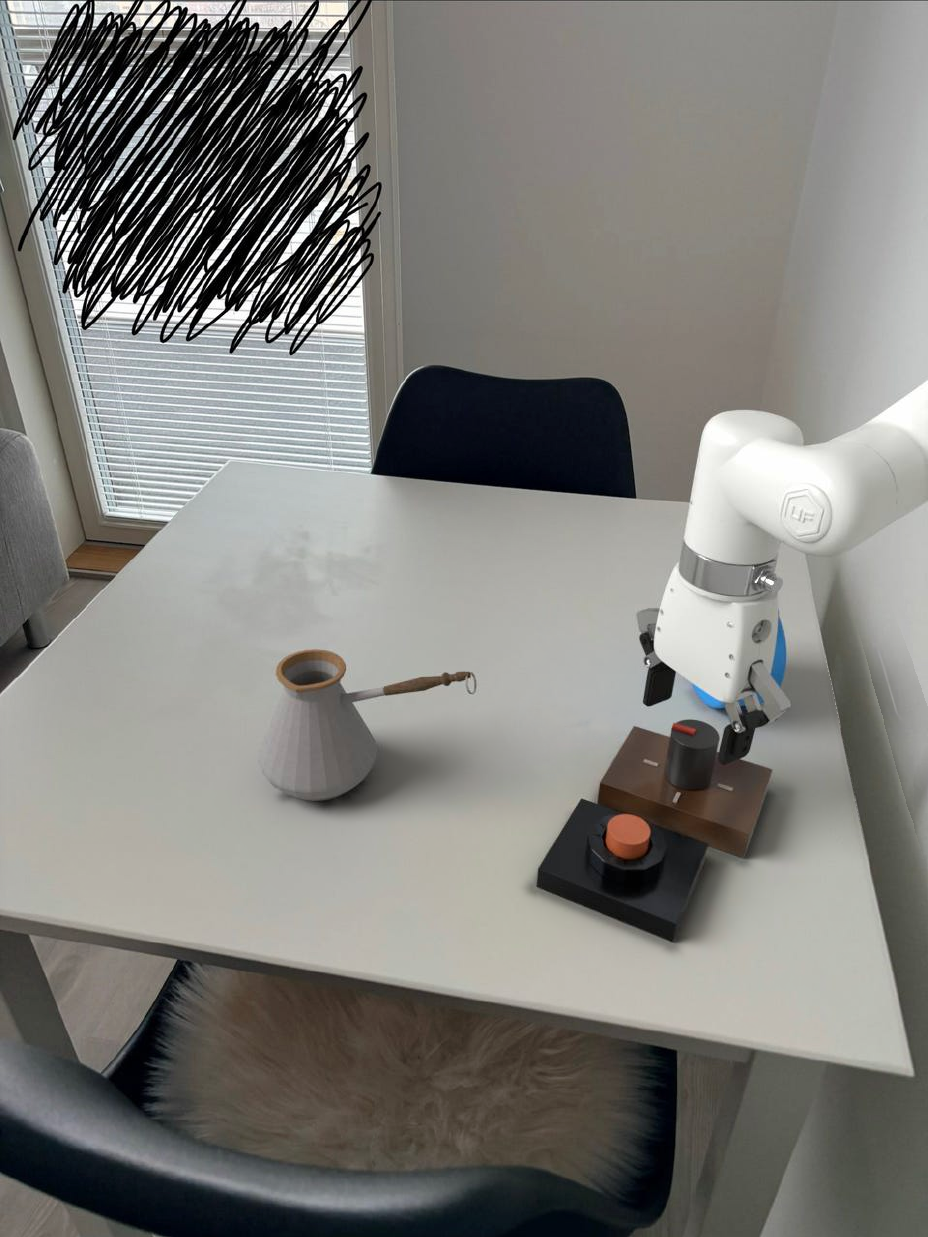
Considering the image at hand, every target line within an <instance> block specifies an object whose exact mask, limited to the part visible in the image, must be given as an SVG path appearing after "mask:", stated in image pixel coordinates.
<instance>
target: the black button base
mask: <svg viewBox="0 0 928 1237" xmlns="http://www.w3.org/2000/svg"><path fill="white" fill-rule="evenodd" d="M621 814H624V813H621V812H619V811H616V810H613V809H610V808H607V807H605V806H602V805H599V804H597V802H596V803H595V802H593V801H590V800H587V799H584V798H583V797H582V798H580V800H579V802H578V803H577V804H576V806H575V808H574V809H573V810H572V812H571V813H570V816H569V817H568V818H567V820H566V822H565V824H564V826H563V827H562V829H561V830H560V832H559V834H558V835H557V837H556V839H555V840H554V842H553V843H552V845H551V847H550V848H549V850H548V851H547V853H546V855H545V856H544V858H543V860H542V862H541V863H540V865H539V866H538V868H537V875H536V888H539V889H541V890H542V891H543V890H544V891H546V892H548V893H551V894H553V895H555V896H558V897H561V898H563V899H565V900H567V901H571V902H573V903H575V904H577V905H580V906H583V907H584V908H587V909H590V910H592V911H594V912H597V913H599V914H602V915H604V916H608V917H610V918H612V919H614V920H617V921H620V922H622V923H624V924H627V925H628V926H629V925H630V926H632V927H634V928H636V929H639V930H640V931H641V930H642V931H644V932H645V933H649V934H651V935H654V936H656V937H657V938H661V939H663V940H666V941H667V942H671V943H673V942H674V940H675V939H676V938H675V937H676V935H677V933H678V930H679V927H680V925H681V923H682V920H683V918H684V915H685V912H686V910H687V908H688V905H689V902H690V900H691V897H692V894H693V892H694V889H695V887H696V884H697V882H698V880H699V877H700V875H701V873H702V870H703V867H704V865H705V862H706V858H707V854H708V849H709V846H708V845H709V844H708V843H705V842H703V841H700V840H697V839H694V838H691V837H689V836H686V835H683V834H680V833H677V832H675V831H672V830H669V829H666V828H663V827H661V826H658V825H655V824H652V823H651V822H650V821H648V820H645V819H643V818H641V819H643V820H644V821H645V822H646V823H647V824H648V826H649V828H650V831H651V833H650V839H649V845H648V850H647V852H646V853H645V855H643V856H642V857H640V858H637V859H624V858H622V857H619V856H616V855H614V854H613V853H612V852H610V850H609V849H608V848H607V846H606V834H607V826H608V823H609V821H610V820H611V819H612V818H613V817H615V816H617V815H621ZM630 815H631V814H630ZM639 818H640V817H639Z"/></svg>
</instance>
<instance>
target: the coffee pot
mask: <svg viewBox="0 0 928 1237" xmlns="http://www.w3.org/2000/svg"><path fill="white" fill-rule="evenodd" d="M346 672H347V664H346V662H345V660H344V658H343V657H341V656H340V655H339V654H337V653H335V652H333V651H330V650H326V649H318V648H317V649H316V648H315V649H305V650H300V651H296V652H293V653H291V654H289V655H287V656H285V657H284V658H283V659H282V660H280V661H279V662H278V664H277V666H276V667H275V675H276V678H277V680H278V682H279V683H280V684H281V685H282V686H283V687H284V689H283V691H282V693H281V696H280V698H279V701H278V702H277V706H276V708H275V710H274V713H273V715H272V718H271V721H270V723H269V725H268V728H267V730H266V734H265V737H264V738H263V741H262V743H261V745H260V748H259V752H258V753H259V754H258V764H259V768H260V770H261V773H262V775H263V776H264V777H265V779H266V780H267V781H268V782H269V783H270V784H271V786H273V787H274V788H275V789H277V790H279V791H280V792H282V793H284V794H286V795H287V796H290V797H294V798H297V799H300V800H303V801H310V802H311V801H312V802H320V801H327V800H328V801H329V800H332V799H336V798H337V797H338V798H339V797H340V796H342V795H344V794H346V793H347V792H349V791H351V790H352V789H353V788H355V787H356V786H358V785H359V784H360V783H361V782H363V781H364V780H365V779H366V777H367V776H368V775H369V773H371V771H372V768H373V767H374V764H375V761H376V758H377V756H378V749H377V748H378V747H377V742H376V739H375V737H374V735H373V733H372V732H371V730H370V728H369V727H368V725H367V723H366V722H365V720H364V718H363V717H362V715H361V714H360V712H359V711H358V709H357V707H356V706H355V705H354V703H356V702H360V701H361V702H362V701H365V700H371V699H375V698H379V697H383V696H386V697H387V696H395V695H402V694H411V693H418V692H424V691H425V692H426V691H427V690H430V689H433V688H435V687H439V686H441V685H443V686H444V687H449V686H450V685H451V684H452V683H454V682H458V683H461V682H463V681H465V682H464V684H465V689H466V691H467V693H468V695H474V694H475V693H476V692H477V679H476V676H475V674H474V672H473V671H472V672H471V671H456V672H455V673H449V672H443V673H442V674H441V676H440V675H436V676H435V675H434V676H419V677H416V678H412V679H407V680H404V681H400V682H396V683H393V684H388V685H384V686H383V687H378V688H377V687H376V688H371V689H366V690H359V691H358V690H357V691H352V692H348V693H347V691H346V689H345V688H344V686H343V685H342V683H341V682H342V679H343V678H344V676H345V675H346ZM471 677H472V679H473V691H472V692H471V691H470V688H469V685H468V681H469V680H468V679H471Z"/></svg>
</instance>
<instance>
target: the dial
mask: <svg viewBox="0 0 928 1237" xmlns="http://www.w3.org/2000/svg"><path fill="white" fill-rule="evenodd" d="M672 723H673V724H672V725H671V729H670V735H669V737H670V740H669V745H668V751H667V757H666V763H665V769H664V774H665V777H666V778H667V780H668V781H669V782H670V783H672V784H673V785H675V786H676V787H679V788H681V789H685V790H701V789H703V788H705V787H707V786H708V785H709V784H710V782H711V778H712V774H713V769H714V764H715V759H716V754H717V752H718V749H719V745H720V738H721V737H720V733H719V731H718V730H717V728H715V727H714V726H713V725H711V724H710V723H708V722H705V721H703V720H702V721H701V720H699V719H692V718H691V719H688V718H687V719H682V720H679V721H676V722H672Z"/></svg>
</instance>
